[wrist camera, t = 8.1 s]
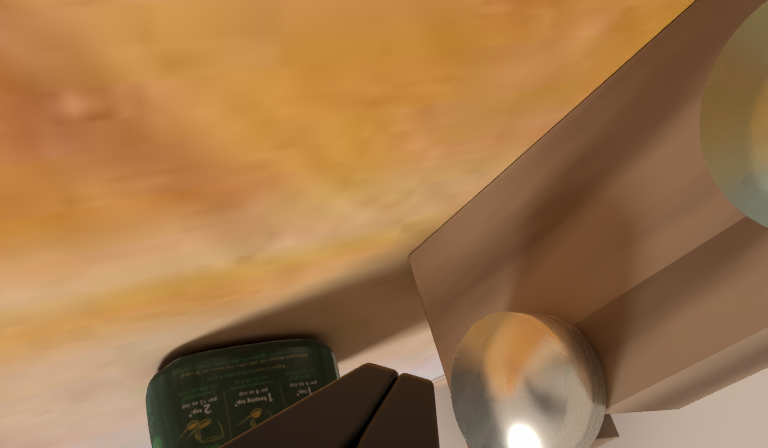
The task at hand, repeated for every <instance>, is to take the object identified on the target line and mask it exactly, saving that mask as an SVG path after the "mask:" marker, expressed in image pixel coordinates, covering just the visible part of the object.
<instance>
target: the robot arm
mask: <svg viewBox="0 0 768 448" xmlns="http://www.w3.org/2000/svg"><path fill="white" fill-rule="evenodd" d="M218 448H440V447H439V437H438V427H437V416H436V405H435V394H434V385H433V383H432V382H431V381H430V380H428V379H425V378H421V377H418V376H414V375H411V374H408V373H402V374H400V375H398V373H397V372H396V370H394V369H390V368H387V367H383V366H380V365H376V364H373V363H366V364H363V365H361V366H359V367H358V368H356V369H354V370H352V371H351V372H349V373H347V374H346V375H344V376H342V377H340V378H339V379H337V380H335V381H333V382H332V383H330V384H328V385H326V386H325V387H323V388H321V389H319V390H318V391H316V392H314V393H312V394H311V395H309V396H307V397H305V398H304V399H302V400H300V401H299V402H297V403H295V404H293V405H292V406H290V407H288V408H286V409H285V410H283V411H281V412H279V413H278V414H276V415H274V416H272V417H271V418H269V419H267V420H265V421H264V422H262V423H260V424H258V425H257V426H255V427H253V428H251V429H250V430H248V431H246V432H245V433H243V434H241V435H239V436H238V437H236V438H234V439H232V440H231V441H229V442H227V443H225V444H224V445H222V446H220V447H218Z"/></svg>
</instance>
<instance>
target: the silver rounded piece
mask: <svg viewBox="0 0 768 448" xmlns="http://www.w3.org/2000/svg"><path fill="white" fill-rule="evenodd" d="M451 398H452V405H453V410H454V414H455V417H456V420H457V423H458V426H459V428H460V430H461V432H462V434H463V436H464V438H465V439H466V441H467V443H468V444H469V446H470V447H471V448H589V447H590V446H591V445H592V443H593V442H594V440H595V438H596V437H597V435H598V433H599V431H600V428H601V425H602V422H603V419H604V415H605V409H606V383H605V376H604V372H603V368H602V365H601V362H600V360H599V357H598V355H597V353H596V351H595V349H594V347H593V346H592V344H591V343H590V341H589V340H588V339H587V337H586V336H585V335H584V334H583V333H582V332H581V331H580V330H579V329H578V328H577V327H576V326H574V325H573V324H571V323H570V322H568V321H566V320H564V319H562V318H560V317H556V316H553V315H544V314H529V313H514V312H498V313H493V314H490V315H488V316H485V317H484V318H482V319H480V320H479V321H478V322H476V323H475V324H474V325H473V326H472V327H471V328H470V329H469V330H468V332H467V333H466V334H465V336H464V337H463V339H462V341H461V343H460V345H459V347H458V349H457V352H456V355H455V358H454V362H453V367H452V373H451Z"/></svg>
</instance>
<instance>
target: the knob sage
mask: <svg viewBox="0 0 768 448" xmlns="http://www.w3.org/2000/svg"><path fill="white" fill-rule="evenodd" d="M699 126H700V141H701V146H702V151H703V155H704V158H705V161H706V164H707V167H708V170H709V172H710V173H711V175H712V177H713V179H714V181H715V183H716V184H717V186H718V187H719V189H720V190H721V191H722V193H723V194H724V196H725V197H726V198H727V199H728V200H729V201H730V202H731V203H732V204H733V205H734V206H735V207H736V208H737V209H739V210H740V211H741V212H742V213H744V214H745V215H746V216H747V217H749V218H751V219H752V220H754V221H756V222H758V223H759V224H761V225H763V226H765V227H767V228H768V0H767V1H766V2H765V3H763V4H762V5H761V6H760V7H759V8H758V9H757V10H756V11H754V12H753V13H752V14H751V15H750V16H749V17H748V18H747V19H746V20H745V21H744V22H743V23H742V25H741V26H740V27H739V28H738V29H737V30H736V31H735V33H734V34H733V35H732V37H731V38H730V39H729V41H728V42H727V43H726V45H725V46H724V48H723V50H722V51H721V53H720V55H719V56H718V58H717V60H716V62H715V64H714V66H713V68H712V70H711V73H710V75H709V77H708V80H707V84H706V87H705V90H704V93H703V98H702V103H701V108H700V122H699Z"/></svg>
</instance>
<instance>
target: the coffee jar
mask: <svg viewBox="0 0 768 448" xmlns="http://www.w3.org/2000/svg"><path fill="white" fill-rule="evenodd" d="M339 378H340V374H339V369H338V365H337V361H336V357H335V355H334V352H333V351H332V350H331V349H330V348H329V347H328V346H326V345H324V344H322V343H321V342H319V341H317V340H313V339H291V340H278V341H270V342H263V343H256V344H247V345H241V346H234V347H228V348H223V349H216V350H211V351H205V352H199V353H196V354H191V355H187V356H184V357H181V358H178V359H176V360H174V361H173V362H171V363H170V364H169V365H167V366H166V367H165V368H163V369H162V370H160V371H159V372H158V373H156V374H155V375H154V377H153V378H152V379H151V381H150V383H149V385H148V388H147V394H146V409H147V418H148V426H149V433H150V439H151V445H152V448H218V447H220V446H222V445H224V444H225V443H227V442H229V441H231V440H232V439H234V438H236V437H238V436H239V435H241V434H243V433H245V432H246V431H248V430H250V429H251V428H253V427H255V426H257V425H258V424H260V423H262V422H264V421H265V420H267V419H269V418H271V417H272V416H274V415H276V414H278V413H279V412H281V411H283V410H285V409H286V408H288V407H290V406H292V405H293V404H295V403H297V402H299V401H300V400H302V399H304V398H305V397H307V396H309V395H311V394H312V393H314V392H316V391H318V390H319V389H321V388H323V387H325V386H326V385H328V384H330V383H332V382H333V381H335V380H337V379H339Z"/></svg>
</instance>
